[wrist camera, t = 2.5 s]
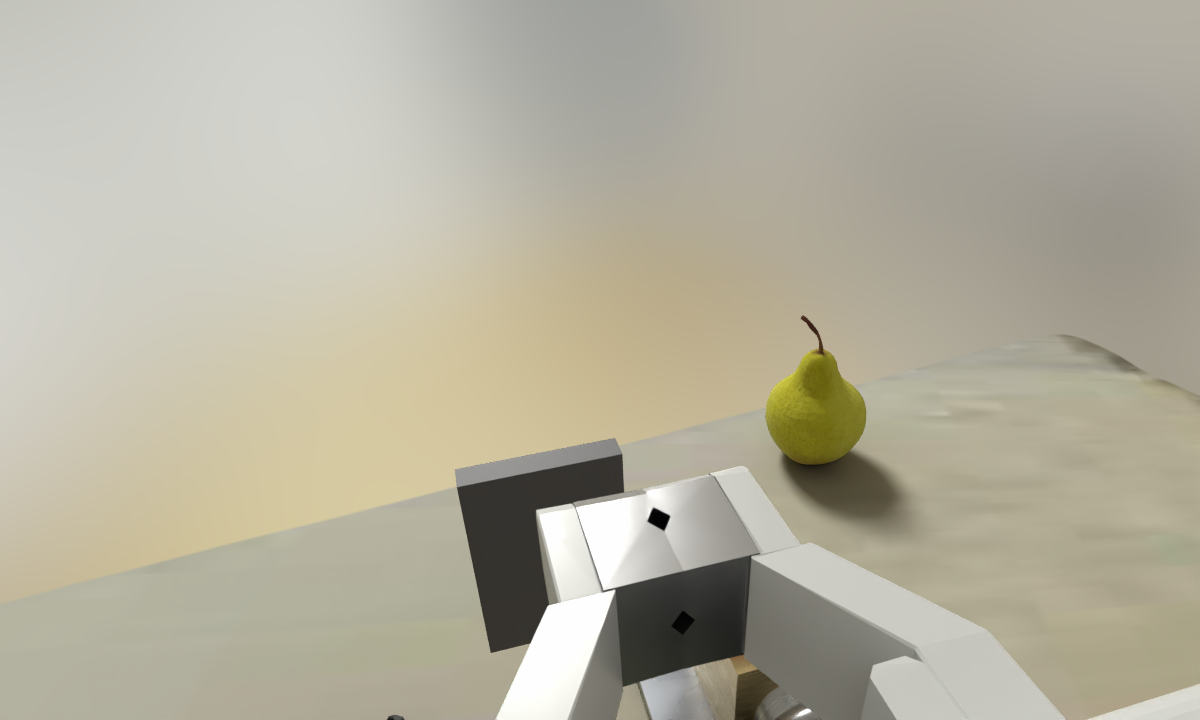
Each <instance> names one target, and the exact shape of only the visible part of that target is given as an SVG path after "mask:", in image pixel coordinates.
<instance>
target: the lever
mask: <svg viewBox="0 0 1200 720" xmlns="http://www.w3.org/2000/svg"><path fill="white" fill-rule="evenodd" d="M455 473H456V482H457V490H458V495H459V499H460V504H461V509H462V514H463V519H464V524H465V529H466V534H467V539H468V543H469V548H470V553H471V558H472V563H473V568H474V573H475V578H476V583H477V587H478V592H479V597H480V602H481V607H482V612H483V617H484V622H485V627H486V631H487V636H488V641H489V646H490V651H491V653H493V652H497V651H501V650H505V649H509V648H513V647H517V646H521V645H525V644H529V643H531V641H532V639H533V637H534V635H535V632H536V630H537V628H538V626H539V624H540V622H541V619H542V617H543V615H544V613H545V611H546V608H547V606H549V600H548V594H547V589H546V583H545V577H544V571H543V564H542V557H541V550H540V543H539V535H538V528H537V521H536V510H539V509H545V508H550V507H555V506H561V505H566V504H572V505H573V502H577V501H583V500H588V499H593V498H598V497H604V496H609V495H614V494H619V493H624V482H623V461H622V452H621V450H620V448H619V446H618V444H617V441H616V439H615V438H614V439H608V440H603V441H598V442H593V443H588V444H583V445H577V446H573V447H567V448H562V449H557V450H552V451H548V452H542V453H537V454H531V455H526V456H521V457H516V458H511V459H506V460H501V461H496V462H491V463H486V464H481V465H475V466H470V467H465V468H460V469H456V470H455Z"/></svg>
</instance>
